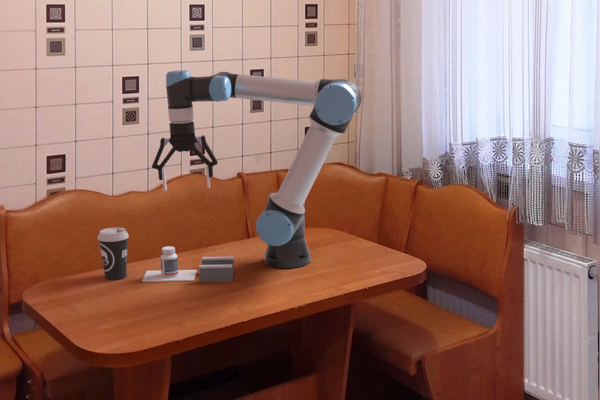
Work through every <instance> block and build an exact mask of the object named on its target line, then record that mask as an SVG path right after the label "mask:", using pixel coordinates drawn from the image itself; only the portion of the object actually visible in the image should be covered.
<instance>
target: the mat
mask: <svg viewBox="0 0 600 400" xmlns="http://www.w3.org/2000/svg"><path fill="white" fill-rule="evenodd" d="M197 272H198V269H178V275H177V276H175V277H163V276H162V274H161V269H160V270H146V271H145V273H144V275H143V277H142V280H141V282H142V283H155V282H156V283H157V282H158V283H159V282H160V283H161V282H163V283H164V282H169V283H170V282H194V281H195V279H196V275H197Z"/></svg>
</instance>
